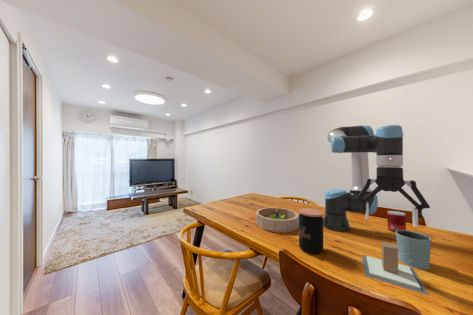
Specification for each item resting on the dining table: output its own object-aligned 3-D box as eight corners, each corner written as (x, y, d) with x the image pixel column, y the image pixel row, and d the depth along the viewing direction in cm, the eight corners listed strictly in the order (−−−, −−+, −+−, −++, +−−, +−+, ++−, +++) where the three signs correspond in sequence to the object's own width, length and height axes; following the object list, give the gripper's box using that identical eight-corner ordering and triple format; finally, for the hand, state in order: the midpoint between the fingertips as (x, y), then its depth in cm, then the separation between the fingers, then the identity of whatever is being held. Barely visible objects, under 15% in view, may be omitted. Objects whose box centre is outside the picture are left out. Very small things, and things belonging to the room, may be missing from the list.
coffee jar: (295, 244, 86) (295, 208, 86) (315, 243, 87) (315, 207, 87) (305, 256, 75) (305, 215, 75) (328, 254, 76) (328, 214, 76)
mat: (364, 277, 62) (364, 275, 62) (362, 256, 75) (362, 255, 75) (429, 297, 53) (429, 295, 53) (413, 269, 66) (412, 267, 66)
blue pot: (436, 275, 63) (436, 242, 63) (399, 266, 68) (399, 236, 68) (425, 261, 71) (424, 232, 72) (393, 254, 77) (392, 227, 77)
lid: (369, 274, 62) (369, 247, 62) (366, 257, 73) (366, 234, 73) (420, 290, 55) (420, 259, 55) (408, 268, 66) (408, 243, 66)
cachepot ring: (249, 225, 109) (249, 214, 110) (266, 214, 132) (266, 205, 132) (291, 236, 94) (291, 223, 95) (302, 221, 117) (302, 211, 117)
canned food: (409, 234, 97) (409, 215, 98) (393, 233, 99) (393, 214, 99) (399, 228, 105) (399, 211, 105) (384, 227, 107) (384, 210, 107)
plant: (258, 228, 107) (258, 210, 107) (265, 218, 125) (265, 202, 125) (292, 233, 99) (292, 214, 99) (294, 222, 117) (294, 205, 117)
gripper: (349, 166, 68) (350, 219, 68) (443, 168, 54) (444, 234, 54) (349, 165, 74) (350, 214, 74) (433, 167, 61) (434, 226, 60)
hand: (389, 223), depth 64 cm, fingers open, 13 cm apart
